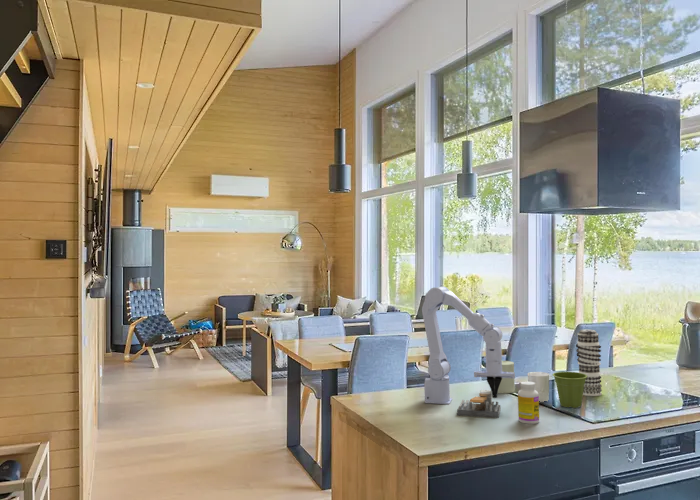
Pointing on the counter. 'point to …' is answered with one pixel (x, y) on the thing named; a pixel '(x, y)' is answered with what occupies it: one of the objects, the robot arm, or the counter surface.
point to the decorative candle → (589, 361)
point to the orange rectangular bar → (478, 399)
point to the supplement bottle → (528, 403)
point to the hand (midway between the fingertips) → (495, 397)
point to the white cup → (540, 384)
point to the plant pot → (570, 388)
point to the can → (507, 383)
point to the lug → (486, 395)
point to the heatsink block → (479, 409)
